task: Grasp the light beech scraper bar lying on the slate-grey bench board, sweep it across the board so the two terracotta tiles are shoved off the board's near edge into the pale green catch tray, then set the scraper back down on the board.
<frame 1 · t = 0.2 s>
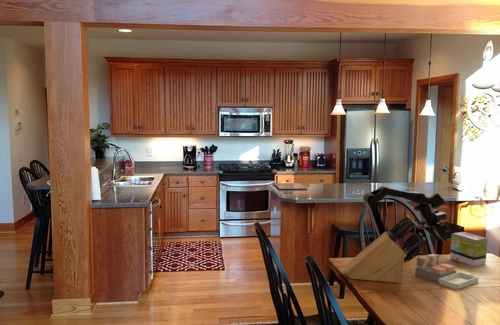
hand: (440, 239, 219), 15 cm above the table, tool tilted 30°, fingers open, 9 cm apart
tile far: (446, 269, 204), point 3 cm above the table, touching bench board
tile near: (438, 272, 200), point 3 cm above the table, touching bench board
knife block: (382, 278, 200), on the table
tea box: (467, 262, 229), on the table
bench board: (435, 275, 205), on the table
scraper: (427, 266, 209), point 3 cm above the table, touching bench board
catch tray: (458, 283, 196), on the table
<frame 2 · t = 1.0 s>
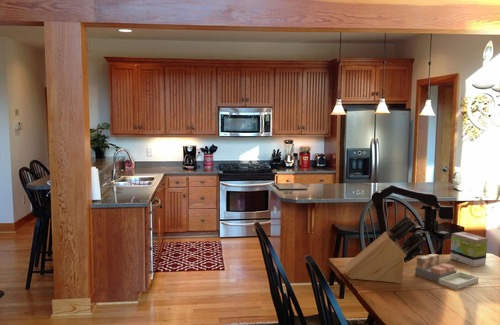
hand: (428, 249, 208), 12 cm above the table, tool pointing down, fingers open, 9 cm apart
nothing on the table moved.
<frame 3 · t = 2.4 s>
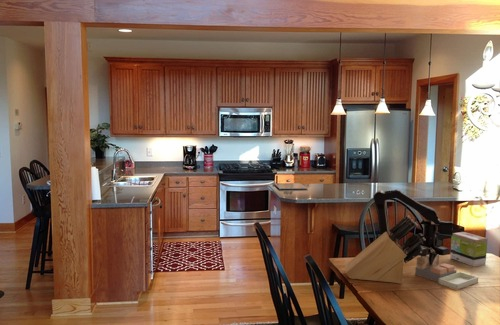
hand: (427, 264, 209), 5 cm above the table, tool pointing down, fingers closed on scraper, 3 cm apart
scraper: (427, 266, 209), point 3 cm above the table, touching bench board, gripper
everything else where it was.
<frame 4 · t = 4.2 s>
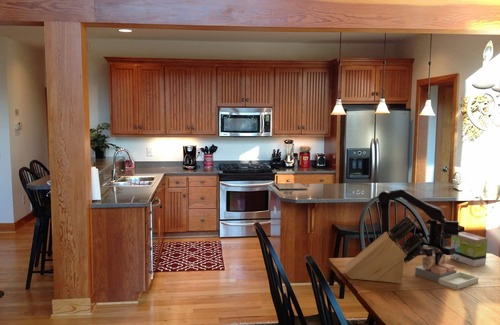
hand: (433, 264, 206), 5 cm above the table, tool pointing down, fingers closed on scraper, 3 cm apart
scraper: (433, 266, 206), point 4 cm above the table, touching gripper
everything else where it was.
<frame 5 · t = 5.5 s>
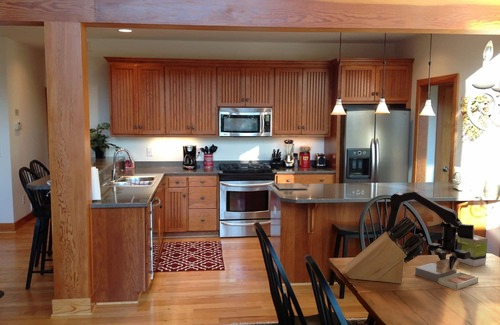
hand: (447, 268, 200), 5 cm above the table, tool pointing down, fingers closed on scraper, 3 cm apart
tile far: (465, 276, 197), point 3 cm above the table, tilted 171°, touching catch tray
tile near: (456, 280, 193), point 2 cm above the table, tilted 180°, touching catch tray
scraper: (447, 270, 200), point 5 cm above the table, touching gripper
everything else where it was.
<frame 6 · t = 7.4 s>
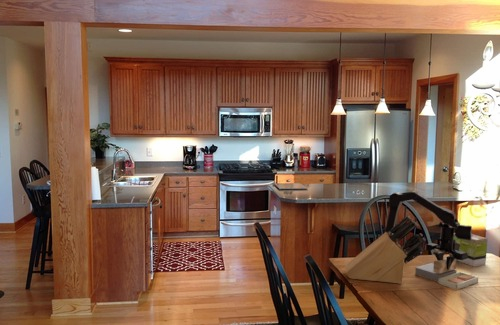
hand: (444, 268, 201), 5 cm above the table, tool pointing down, fingers closed on scraper, 3 cm apart
scraper: (444, 270, 201), point 4 cm above the table, touching gripper
everything else where it was.
when the fingers open (5 cm above the table, at t = 8.7 s): scraper stays where it is, resting on bench board.
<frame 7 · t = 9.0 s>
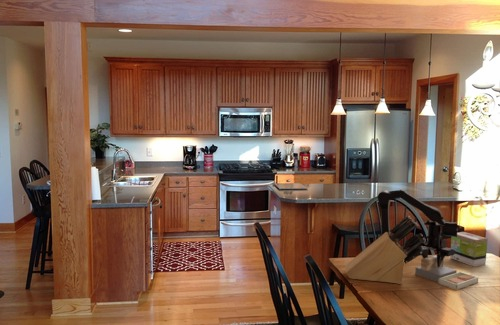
hand: (432, 265, 207), 5 cm above the table, tool pointing down, fingers open, 6 cm apart
scraper: (432, 267, 207), point 3 cm above the table, touching bench board
everything else where it was.
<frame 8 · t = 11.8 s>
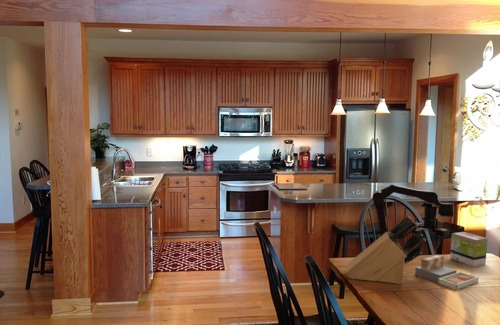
hand: (428, 246, 210), 13 cm above the table, tool pointing down, fingers open, 9 cm apart
nothing on the table moved.
at the end: tile near inside the target area on the catch tray (3.8 cm from its centre), point 2.4 cm above the catch tray's base; tile far inside the target area on the catch tray (3.9 cm from its centre), point 2.8 cm above the catch tray's base; the gripper is holding nothing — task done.
